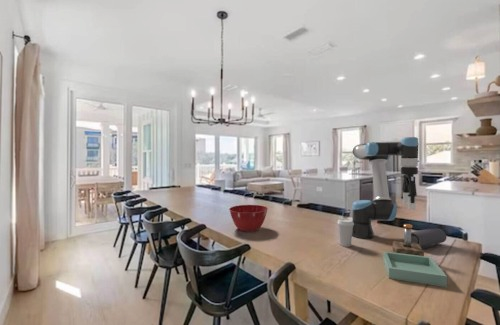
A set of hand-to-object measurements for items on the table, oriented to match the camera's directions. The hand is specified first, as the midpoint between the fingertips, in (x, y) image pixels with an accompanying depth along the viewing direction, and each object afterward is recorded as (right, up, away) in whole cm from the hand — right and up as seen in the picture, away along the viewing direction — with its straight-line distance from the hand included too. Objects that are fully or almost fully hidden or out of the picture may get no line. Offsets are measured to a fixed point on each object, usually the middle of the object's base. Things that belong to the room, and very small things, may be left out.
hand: (408, 206), depth 134 cm
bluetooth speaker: (+21, -27, +17) cm, 38 cm away
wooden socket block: (0, -27, +1) cm, 27 cm away
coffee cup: (-26, -27, +19) cm, 42 cm away
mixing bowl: (-85, -26, +53) cm, 103 cm away
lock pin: (0, -25, +1) cm, 25 cm away
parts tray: (-9, -27, -16) cm, 33 cm away
